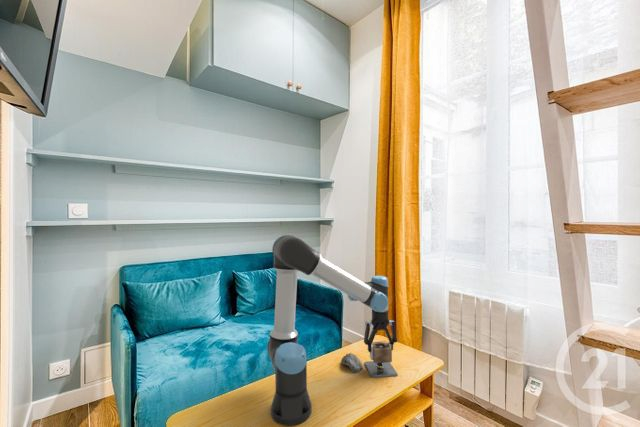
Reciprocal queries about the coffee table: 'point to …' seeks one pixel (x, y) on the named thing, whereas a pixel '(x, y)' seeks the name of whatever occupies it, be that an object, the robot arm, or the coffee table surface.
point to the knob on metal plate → (380, 368)
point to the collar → (382, 352)
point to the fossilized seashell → (352, 362)
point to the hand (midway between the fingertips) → (380, 357)
